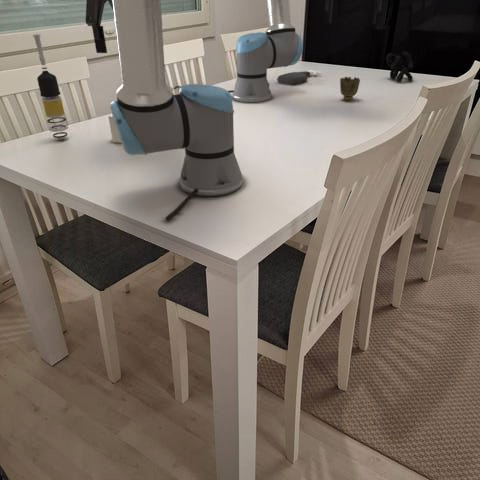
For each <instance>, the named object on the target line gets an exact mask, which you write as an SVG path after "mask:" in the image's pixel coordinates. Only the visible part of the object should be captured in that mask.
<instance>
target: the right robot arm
mask: <svg viewBox="0 0 480 480" xmlns="http://www.w3.org/2000/svg"><path fill="white" fill-rule="evenodd" d="M382 2H383V0H374V3H373V10H372V11H373V12H372V20H371V25H375V24H376V19H377V13H380V12H381V10H382V4H383V3H382ZM265 3H266V4H265V5H266V13H267V23H268V24H267V25H268V27H267V28H266V30H265V32H262V31H259V32H249V33H245V34H242V35H241V36H239V37H238V38H237V40H236V45H235V46H236V48H235V52H236V82H235V85H234V89H232V90H231V89H230V90H227V91H228V92H229V93H230V94H231V93H232V100H234V101H237V102H240V103H247V104H248V103H250V104H251V103H263V102H267V101H269V100H271V99H272V92H271V89H270V83H269V81H268V75H267V74H268V69H276V68H287V67H289V66H290V67H291V66H293V65H295V64H297V63H298V62H299V61H300V59H301V57H302V54H303V50H304V42H303V39H302V36H301V35H300V34H299V33H297V32H296V27H295V26H294V25H293V24H292V22H291V10H290V0H265ZM333 4H334V0H325V4H324V5H325V6H324V11H325V12H327V22H326V24H331V23H332V19H333V18H332V17H333V6H334V5H333ZM181 86H182V85H176V86H174V88H173V90H177V89H180V87H181Z"/></svg>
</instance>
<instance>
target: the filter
mask: <svg viewBox="0 0 480 480" xmlns="http://www.w3.org/2000/svg"><path fill="white" fill-rule="evenodd" d="M32 37H33V38H34V41H35V46H36V48H37V51H38V58H39V61H40V64H41V66H44V67H42V68H41V69H42V72H41V73H40V74H39V75H38V76H37V77H36V80H37V84H38V88H39V93H40V97H42V98H41V101H42V104H43V108H44V112H45V117H46V118H49V119H47V120H46V122H47V123H48V124H53V125H50V126H49V127H48V130H49V131H50V132H53V134H52V137H53V138H55V139H58V140H64V138H66V137H67V136H68V133H67V132H65V131H66V130H69V125H68V124H66V123H63V122H65V121H67V118H66V117H64V116H65V115H66V114H65V110H64V106H63V100H62V97H61V91H60V88H59V82H58V79H57V76H56V75H55V74H53V73H51V72H50V71H49V70H47V69H48V67H45V66H47V65H46V58H45V55H44V52H43V48H42V42H41V34H38V33H37V34H32ZM56 119H62V120H58V121H52V120H56ZM60 134H62V135H60ZM63 134H64V135H63ZM57 135H58V136H57Z"/></svg>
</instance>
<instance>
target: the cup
mask: <svg viewBox="0 0 480 480" xmlns="http://www.w3.org/2000/svg"><path fill="white" fill-rule="evenodd" d="M360 82H361V78H359V77H357V76H355V77H354V78H352V77H351V76H349V77H348V76H344V77H340V79H339V86H340V87H339V89H340V93H341V95H342V96H343V97H342V98H343V101H346V102H347V101H348V102H350V101H353V99H354V96H356V95H357V93H358V90H359V87H360Z"/></svg>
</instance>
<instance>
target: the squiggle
mask: <svg viewBox="0 0 480 480" xmlns="http://www.w3.org/2000/svg"><path fill="white" fill-rule="evenodd" d="M401 57H402V59H401ZM391 59H392V60H391ZM393 60H394V61H393ZM385 61H386V64H387V67H390V68H391V70H390V72H389V78H390V79H391V80H395V79H396V81H397V82H399V83H400V82H402V81H403V79H404V76H406V78H407V80H408V81H412V80H413V79H414V77H413V75H412V74H411V73H410V72H409V71H410V70H412V69H413V68H414V64H413V61H412V57H411V54H410V53H409V52H408V51H403V53H402V54H401V55H396V54H394V53H392V52H390V53H387V55H386V57H385ZM406 62H407V65H408V66H407V67H405V66H404V65H405V64H406ZM400 70H401V71H400Z"/></svg>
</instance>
